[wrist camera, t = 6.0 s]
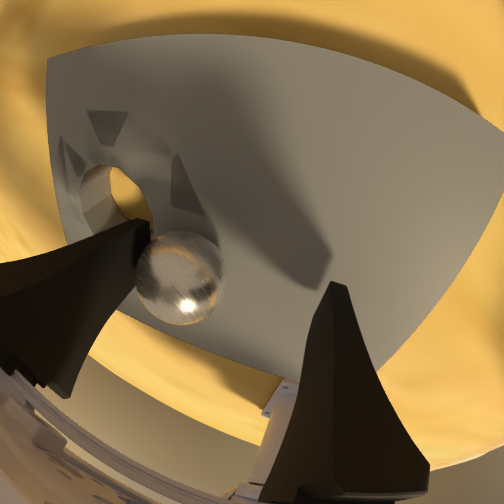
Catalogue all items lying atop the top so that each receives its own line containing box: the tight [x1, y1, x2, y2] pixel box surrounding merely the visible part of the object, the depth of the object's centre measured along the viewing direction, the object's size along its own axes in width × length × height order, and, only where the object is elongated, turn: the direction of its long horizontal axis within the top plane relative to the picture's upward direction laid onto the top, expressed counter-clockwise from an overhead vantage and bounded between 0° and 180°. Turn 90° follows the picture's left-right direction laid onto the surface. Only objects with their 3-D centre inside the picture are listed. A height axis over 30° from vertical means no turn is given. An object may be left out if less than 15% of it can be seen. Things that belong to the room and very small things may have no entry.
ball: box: [135, 230, 228, 325], centre depth 10 cm, size 4×4×4 cm
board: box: [46, 34, 504, 382], centre depth 12 cm, size 16×20×2 cm
